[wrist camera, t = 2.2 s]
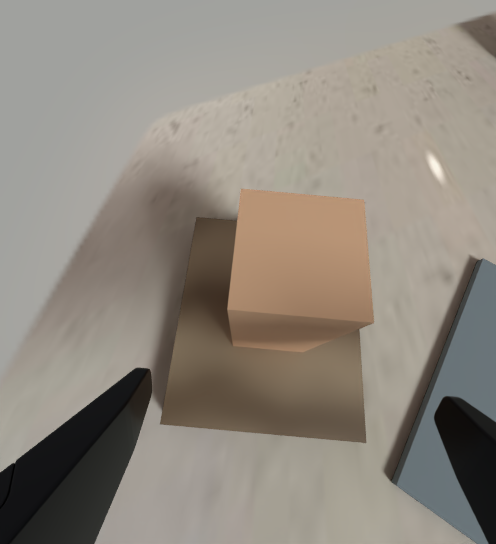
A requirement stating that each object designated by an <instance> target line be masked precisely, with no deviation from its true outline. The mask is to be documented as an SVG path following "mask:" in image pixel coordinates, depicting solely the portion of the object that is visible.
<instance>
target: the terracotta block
mask: <svg viewBox="0 0 496 544" xmlns="http://www.w3.org/2000/svg"><path fill="white" fill-rule="evenodd" d="M227 311H228V317H229V324H230V330H231V336H232V343H233V346H238V347H249V348H260V349H271V350H282V351H293V352H305V351H307V350H310V349H312V348H315V347H317V346H319V345H322V344H324V343H327V342H329V341H331V340H334V339H336V338H339V337H341V336H343V335H346V334H348V333H351V332H353V331H355V330H358V329H360V328H363V327H365V326H367V325H370V324H372V323H374V316H373V304H372V291H371V279H370V267H369V254H368V242H367V230H366V217H365V205H364V200H360V199H349V198H338V197H327V196H316V195H305V194H294V193H283V192H272V191H261V190H250V189H241V193H240V202H239V211H238V219H237V228H236V237H235V246H234V255H233V263H232V272H231V281H230V290H229V299H228V307H227Z"/></svg>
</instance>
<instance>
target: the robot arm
mask: <svg viewBox="0 0 496 544" xmlns="http://www.w3.org/2000/svg"><path fill="white" fill-rule="evenodd" d="M151 394H152V379H151V371H150V369H148V368H135V369H134V370H132V371H131V372H130V373H129V374H127V375H126V376H125V377H123V378H122V379H121V380H120V381H118V382H117V383H116V384H114V385H113V386H112V387H111V388H109V389H108V390H107V391H105V392H104V393H103V394H101V395H100V396H99V397H98V398H96V399H95V400H94V401H92V402H91V403H90V404H89V405H87V406H86V407H85V408H83V409H82V410H81V411H79V412H78V413H77V414H76V415H74V416H73V417H72V418H70V419H69V420H68V421H67V422H65V423H64V424H63V425H61V426H60V427H59V428H58V429H56V430H55V431H54V432H52V433H51V434H50V435H48V436H47V437H46V438H45V439H43V440H42V441H41V442H39V443H38V444H37V445H36V446H34V447H33V448H32V449H30V450H29V451H28V452H26V453H25V454H24V455H23V456H21V457H20V458H19V459H17V460H16V462H15V463H12V464H11V465H9V466H8V467H7V468H6V469H4V470H3V471H2V472H0V544H94V543H95V541H96V538H97V536H98V534H99V531H100V529H101V527H102V524H103V522H104V520H105V517H106V515H107V513H108V510H109V508H110V506H111V503H112V501H113V498H114V496H115V494H116V491H117V489H118V487H119V484H120V482H121V480H122V477H123V475H124V473H125V470H126V468H127V466H128V463H129V461H130V459H131V456H132V454H133V451H134V449H135V446H136V443H137V440H138V437H139V433H140V430H141V427H142V424H143V420H144V417H145V414H146V411H147V408H148V404H149V401H150V398H151ZM434 421H435V425H436V427H437V430H438V432H439V435H440V437H441V440H442V443H443V445H444V448H445V450H446V453H447V455H448V458H449V461H450V463H451V466H452V468H453V471H454V473H455V475H456V478H457V480H458V482H459V484H460V486H461V489H462V491H463V493H464V495H465V497H466V499H467V501H468V503H469V505H470V507H471V509H472V511H473V513H474V515H475V517H476V519H477V521H478V523H479V525H480V528H481V530H482V532H483V534H484V536H485V538H486V540H487V542H488V544H496V422H495V421H494V420H492V419H491V418H489V417H488V416H486V415H485V414H483V413H482V412H481V411H479V410H478V409H476V408H475V407H473V406H472V405H471V404H469V403H468V402H466V401H465V400H463V399H462V398H460V397H454V396H445V397H443V398H442V400H441V402H440V404H439V406H438V408H437V409H436V411H435V414H434Z"/></svg>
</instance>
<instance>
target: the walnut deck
mask: <svg viewBox="0 0 496 544" xmlns="http://www.w3.org/2000/svg"><path fill="white" fill-rule="evenodd" d="M236 228H237V221H233V220H222V219H211V218H200V217H197V218H196V224H195V229H194V235H193V241H192V246H191V252H190V258H189V263H188V269H187V274H186V280H185V286H184V291H183V297H182V303H181V308H180V314H179V320H178V325H177V331H176V337H175V342H174V348H173V354H172V359H171V365H170V371H169V376H168V382H167V388H166V393H165V399H164V405H163V410H162V416H161V422H160V424H163V425H174V426H186V427H197V428H208V429H219V430H230V431H241V432H252V433H263V434H274V435H285V436H296V437H307V438H318V439H329V440H340V441H351V442H362V443H366V430H365V414H364V398H363V381H362V365H361V349H360V332H359V329H358V330H355V331H353V332H351V333H348V334H346V335H343V336H341V337H339V338H336V339H334V340H331V341H329V342H327V343H324V344H322V345H319V346H317V347H315V348H312V349H310V350H307V351H305V352H293V351H282V350H271V349H260V348H249V347H238V346H233V343H232V336H231V330H230V324H229V317H228V311H227V307H228V299H229V290H230V281H231V272H232V263H233V255H234V246H235V237H236Z"/></svg>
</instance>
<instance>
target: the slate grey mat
mask: <svg viewBox="0 0 496 544" xmlns="http://www.w3.org/2000/svg"><path fill="white" fill-rule="evenodd" d="M445 396H454V397H460V398H462V399H463V400H465V401H466V402H468V403H469V404H471V405H472V406H473V407H475V408H476V409H478V410H479V411H481V412H482V413H483V414H485V415H486V416H488V417H489V418H491V419H492V420H494V421H495V422H496V265H495V264H493V263H491V262H489V261H487V260H485V259H481V260H479V261H477V263H476V266H475V268H474V271H473V274H472V276H471V279H470V281H469V284H468V286H467V289H466V292H465V294H464V297H463V299H462V302H461V304H460V307H459V310H458V312H457V315H456V317H455V320H454V322H453V325H452V327H451V330H450V333H449V335H448V338H447V340H446V343H445V345H444V348H443V351H442V353H441V356H440V358H439V361H438V363H437V366H436V369H435V371H434V374H433V376H432V379H431V381H430V384H429V387H428V389H427V392H426V394H425V397H424V399H423V402H422V405H421V407H420V410H419V412H418V415H417V417H416V420H415V423H414V425H413V428H412V430H411V433H410V435H409V438H408V441H407V443H406V446H405V448H404V451H403V453H402V456H401V459H400V461H399V464H398V466H397V469H396V471H395V474H394V476H393V479H392V483H393V484H395V485H396V486H398V487H399V488H400V489H402V490H403V491H405V492H406V493H407V494H409V495H410V496H412V497H413V498H414V499H416V500H417V501H418V502H420V503H421V504H423V505H424V506H425V507H427V508H428V509H430V510H431V511H432V512H434V513H435V514H437V515H438V516H439V517H441V518H442V519H444V520H445V521H446V522H448V523H449V524H450V525H452V526H453V527H455V528H456V529H457V530H459V531H460V532H462V533H463V534H464V535H466V536H467V537H469V538H470V539H471V540H473V541H474V542H476V543H477V544H488V542H487V540H486V538H485V536H484V534H483V532H482V530H481V528H480V525H479V523H478V521H477V519H476V517H475V515H474V513H473V511H472V509H471V507H470V505H469V503H468V501H467V499H466V497H465V495H464V493H463V491H462V489H461V486H460V484H459V482H458V480H457V478H456V475H455V473H454V471H453V468H452V466H451V463H450V461H449V458H448V455H447V453H446V450H445V448H444V445H443V443H442V440H441V437H440V435H439V432H438V430H437V427H436V425H435V421H434V414H435V411H436V409H437V408H438V406H439V404H440V402H441V400H442V398H443V397H445Z"/></svg>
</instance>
